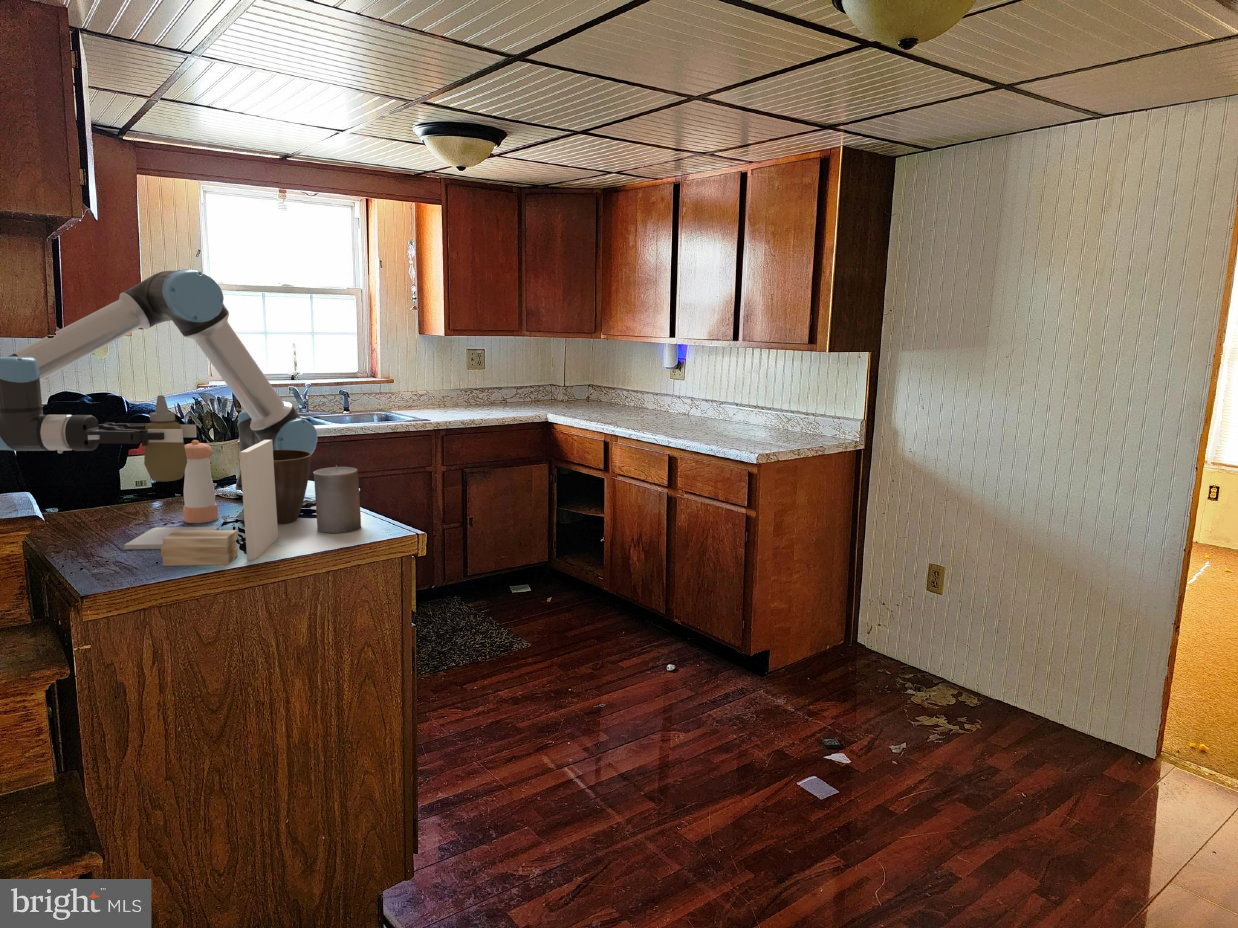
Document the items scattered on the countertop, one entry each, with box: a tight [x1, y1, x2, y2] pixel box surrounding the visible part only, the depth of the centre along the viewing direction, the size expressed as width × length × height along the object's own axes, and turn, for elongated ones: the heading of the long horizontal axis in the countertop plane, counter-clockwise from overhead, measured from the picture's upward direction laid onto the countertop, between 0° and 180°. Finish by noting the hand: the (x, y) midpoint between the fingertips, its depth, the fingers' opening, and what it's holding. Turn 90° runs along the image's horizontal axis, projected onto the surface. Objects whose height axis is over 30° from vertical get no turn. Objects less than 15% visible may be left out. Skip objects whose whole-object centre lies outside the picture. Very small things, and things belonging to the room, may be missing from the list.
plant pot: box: [273, 450, 312, 525], centre depth 193 cm, size 15×15×16 cm
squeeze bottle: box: [143, 394, 187, 482], centre depth 173 cm, size 8×8×18 cm
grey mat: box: [124, 526, 221, 550], centre depth 177 cm, size 14×14×1 cm
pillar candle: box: [312, 464, 362, 534], centre depth 187 cm, size 10×10×15 cm
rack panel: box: [239, 440, 279, 561], centre depth 170 cm, size 16×2×22 cm, turn 7°
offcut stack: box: [160, 529, 239, 567], centre depth 162 cm, size 7×13×5 cm, turn 97°
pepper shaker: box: [182, 439, 219, 524], centre depth 193 cm, size 7×7×19 cm
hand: (188, 433), depth 173 cm, fingers closed on squeeze bottle, 6 cm apart
